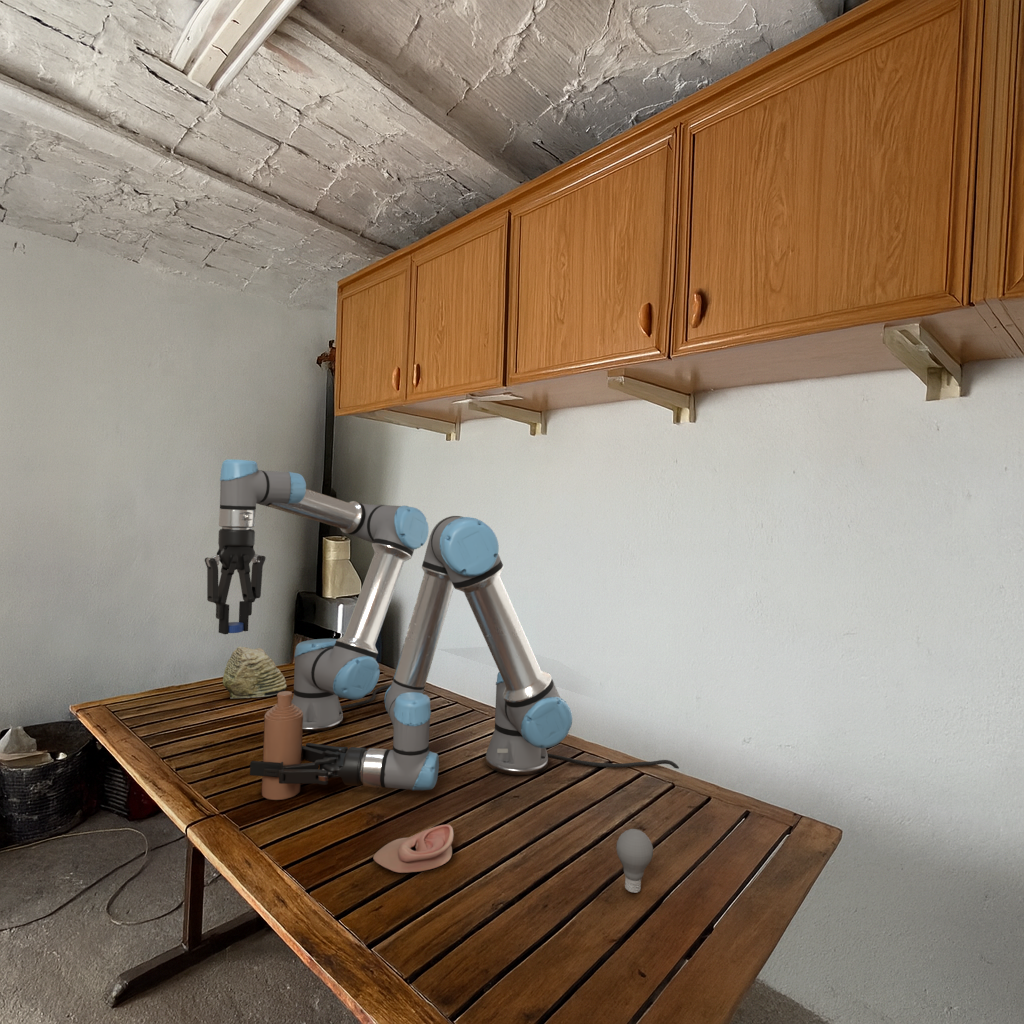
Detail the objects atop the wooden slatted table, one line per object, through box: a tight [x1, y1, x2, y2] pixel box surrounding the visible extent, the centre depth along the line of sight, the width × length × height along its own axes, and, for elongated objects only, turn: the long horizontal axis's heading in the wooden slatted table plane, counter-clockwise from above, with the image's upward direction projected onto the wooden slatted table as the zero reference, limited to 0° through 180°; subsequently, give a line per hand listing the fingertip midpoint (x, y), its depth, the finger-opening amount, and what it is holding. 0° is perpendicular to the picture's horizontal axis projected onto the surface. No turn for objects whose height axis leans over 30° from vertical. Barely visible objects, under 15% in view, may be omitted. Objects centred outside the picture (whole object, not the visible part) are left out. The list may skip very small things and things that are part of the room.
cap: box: [228, 621, 244, 634], centre depth 143 cm, size 4×4×2 cm
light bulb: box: [615, 828, 654, 894], centre depth 106 cm, size 6×6×10 cm
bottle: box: [261, 690, 304, 801], centre depth 135 cm, size 8×8×21 cm
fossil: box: [222, 646, 288, 699], centre depth 198 cm, size 9×18×15 cm, turn 132°
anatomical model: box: [372, 824, 455, 874], centre depth 113 cm, size 13×4×12 cm
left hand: (233, 631), depth 143 cm, fingers closed on cap, 4 cm apart
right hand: (260, 759), depth 136 cm, fingers closed on bottle, 8 cm apart
